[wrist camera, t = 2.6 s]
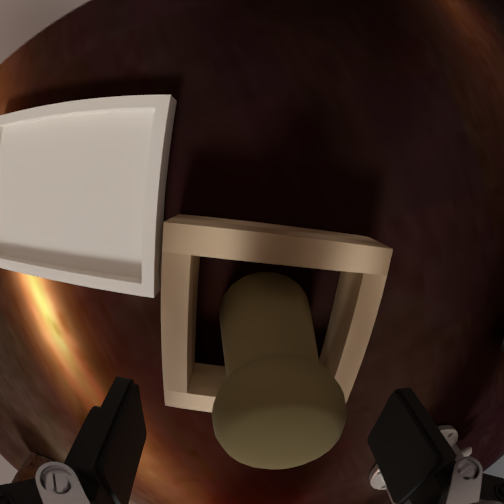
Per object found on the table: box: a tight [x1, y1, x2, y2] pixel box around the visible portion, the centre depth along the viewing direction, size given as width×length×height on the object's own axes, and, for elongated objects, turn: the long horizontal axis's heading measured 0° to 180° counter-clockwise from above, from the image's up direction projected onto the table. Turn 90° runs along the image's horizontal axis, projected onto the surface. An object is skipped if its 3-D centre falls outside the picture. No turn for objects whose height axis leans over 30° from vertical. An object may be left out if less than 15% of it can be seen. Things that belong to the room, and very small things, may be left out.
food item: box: [12, 452, 53, 483], centre depth 21 cm, size 14×8×10 cm, turn 7°
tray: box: [0, 95, 177, 298], centre depth 16 cm, size 16×12×2 cm
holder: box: [161, 214, 393, 412], centre depth 17 cm, size 12×12×4 cm
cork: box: [212, 272, 347, 469], centre depth 13 cm, size 6×6×11 cm
